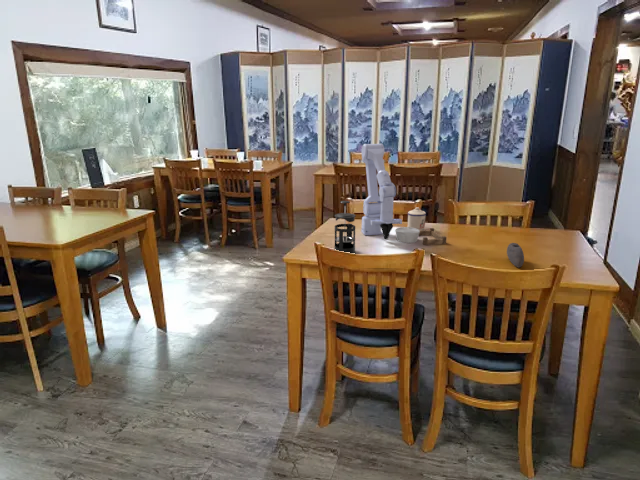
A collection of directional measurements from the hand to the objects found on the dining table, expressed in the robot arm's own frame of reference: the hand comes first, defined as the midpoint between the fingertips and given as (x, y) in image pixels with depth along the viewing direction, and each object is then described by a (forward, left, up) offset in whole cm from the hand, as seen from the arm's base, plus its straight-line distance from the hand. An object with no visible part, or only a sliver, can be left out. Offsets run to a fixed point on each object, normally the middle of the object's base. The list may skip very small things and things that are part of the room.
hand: (385, 239), depth 208 cm
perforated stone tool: (+43, -38, -2) cm, 57 cm away
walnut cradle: (+21, 0, -1) cm, 21 cm away
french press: (-22, -13, -1) cm, 26 cm away
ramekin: (+10, 0, -2) cm, 11 cm away
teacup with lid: (+22, +19, -1) cm, 29 cm away
